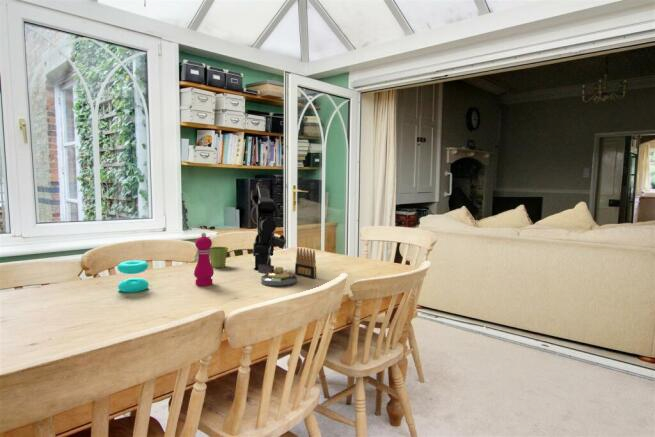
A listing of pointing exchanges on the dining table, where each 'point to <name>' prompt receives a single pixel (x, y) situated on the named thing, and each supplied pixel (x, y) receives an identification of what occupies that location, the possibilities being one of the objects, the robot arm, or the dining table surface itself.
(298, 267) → the ammunition clip
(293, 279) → the base
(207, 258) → the pepper mill
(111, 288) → the dining table surface
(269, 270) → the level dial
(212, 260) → the plant pot
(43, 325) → the dining table surface
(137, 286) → the donuts
